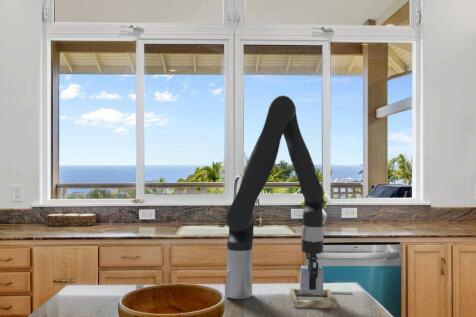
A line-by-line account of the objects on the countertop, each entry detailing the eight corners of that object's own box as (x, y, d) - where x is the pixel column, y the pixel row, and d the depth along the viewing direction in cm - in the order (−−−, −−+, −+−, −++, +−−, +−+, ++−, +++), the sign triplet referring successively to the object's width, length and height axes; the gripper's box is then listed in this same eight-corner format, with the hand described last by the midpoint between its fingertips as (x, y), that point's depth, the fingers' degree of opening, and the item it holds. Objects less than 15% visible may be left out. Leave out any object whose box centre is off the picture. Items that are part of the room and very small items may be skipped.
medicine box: (321, 290, 148) (322, 266, 149) (323, 294, 144) (323, 269, 144) (299, 289, 149) (300, 265, 149) (300, 293, 145) (300, 268, 145)
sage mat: (321, 293, 155) (321, 291, 155) (317, 285, 166) (317, 283, 166) (351, 294, 154) (351, 291, 154) (344, 285, 165) (344, 283, 165)
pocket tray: (293, 307, 140) (293, 301, 140) (290, 294, 154) (290, 288, 154) (337, 308, 139) (337, 302, 139) (329, 294, 153) (329, 289, 153)
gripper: (299, 234, 154) (298, 281, 154) (304, 242, 140) (303, 292, 140) (319, 235, 154) (319, 281, 154) (326, 242, 140) (325, 293, 139)
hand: (311, 286), depth 147 cm, fingers closed on medicine box, 4 cm apart
